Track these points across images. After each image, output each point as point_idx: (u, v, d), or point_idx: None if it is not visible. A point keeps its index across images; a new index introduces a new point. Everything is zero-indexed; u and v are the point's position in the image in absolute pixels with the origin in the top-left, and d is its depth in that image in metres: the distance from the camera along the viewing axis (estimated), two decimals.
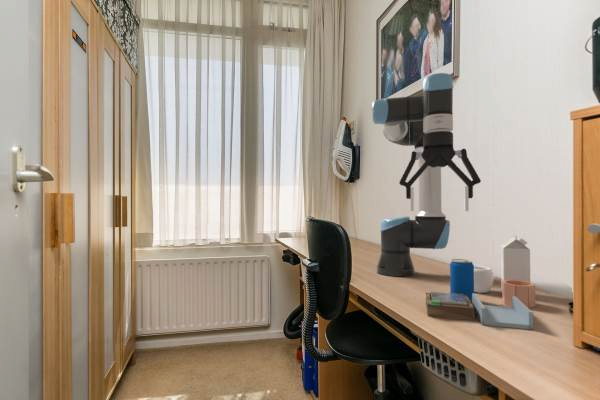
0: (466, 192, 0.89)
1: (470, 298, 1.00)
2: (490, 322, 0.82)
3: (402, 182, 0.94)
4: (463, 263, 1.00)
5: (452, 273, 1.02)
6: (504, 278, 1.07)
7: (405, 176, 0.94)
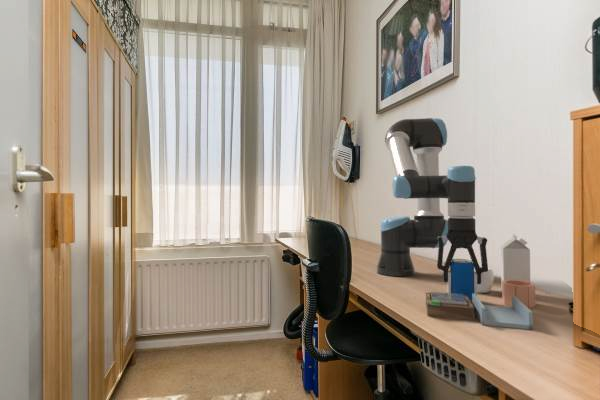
0: (475, 279, 1.00)
1: (470, 298, 1.00)
2: (490, 322, 0.82)
3: (440, 266, 1.03)
4: (463, 263, 1.00)
5: (452, 273, 1.02)
6: (504, 278, 1.07)
7: (440, 261, 1.03)
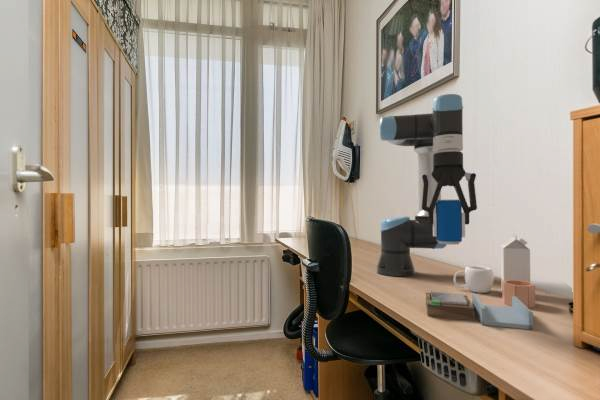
0: (463, 218, 0.91)
1: (457, 239, 0.90)
2: (490, 322, 0.82)
3: (425, 207, 0.94)
4: (450, 201, 0.91)
5: (438, 213, 0.93)
6: (504, 278, 1.07)
7: (425, 200, 0.94)
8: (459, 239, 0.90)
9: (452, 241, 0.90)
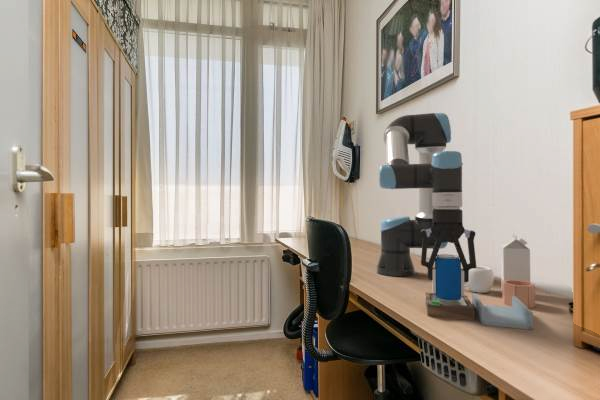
0: (462, 276, 0.91)
1: (456, 298, 0.90)
2: (490, 322, 0.82)
3: (424, 263, 0.94)
4: (449, 259, 0.90)
5: (437, 270, 0.92)
6: (504, 278, 1.07)
7: (424, 256, 0.94)
8: (458, 297, 0.90)
9: (451, 300, 0.90)
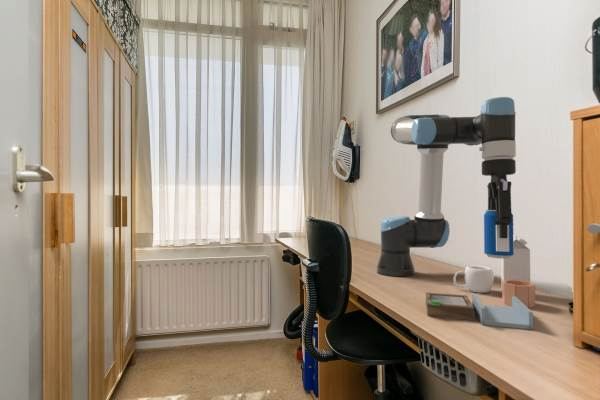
0: (496, 231, 0.84)
1: (488, 252, 0.86)
2: (490, 322, 0.82)
3: None
4: (486, 211, 0.88)
5: None
6: (504, 278, 1.07)
7: None
8: (491, 252, 0.86)
9: (485, 253, 0.88)
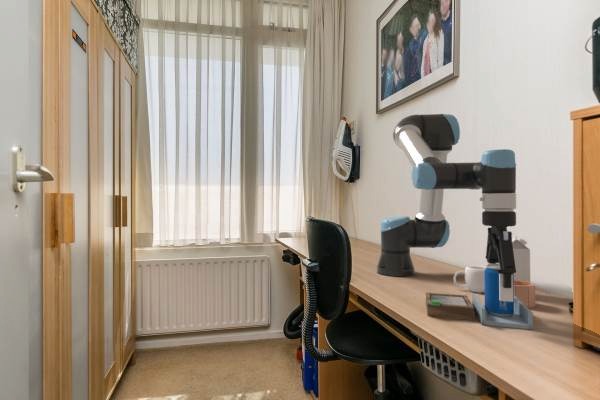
0: (499, 279, 0.81)
1: (489, 309, 0.86)
2: (490, 322, 0.82)
3: (486, 257, 0.96)
4: None
5: None
6: None
7: (486, 251, 0.96)
8: (491, 310, 0.86)
9: (486, 309, 0.88)
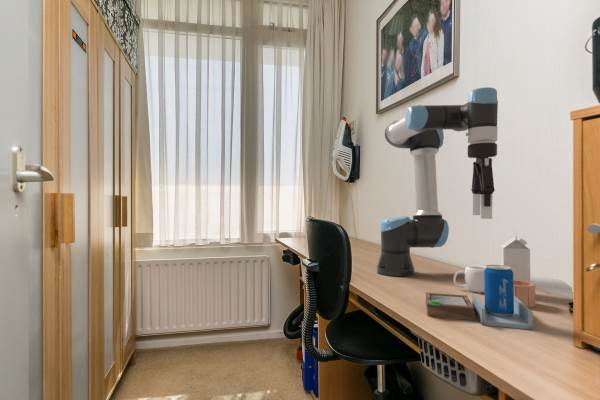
0: (480, 200, 0.93)
1: (489, 309, 0.86)
2: (490, 322, 0.82)
3: (471, 189, 1.08)
4: (486, 267, 0.88)
5: None
6: None
7: (472, 184, 1.07)
8: (491, 310, 0.86)
9: (486, 309, 0.88)
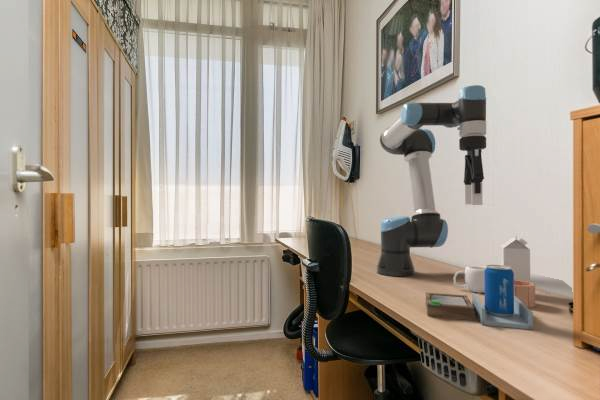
0: (471, 188, 1.00)
1: (489, 309, 0.86)
2: (490, 322, 0.82)
3: (464, 181, 1.16)
4: None
5: None
6: None
7: (464, 176, 1.15)
8: (491, 310, 0.86)
9: (486, 309, 0.88)
